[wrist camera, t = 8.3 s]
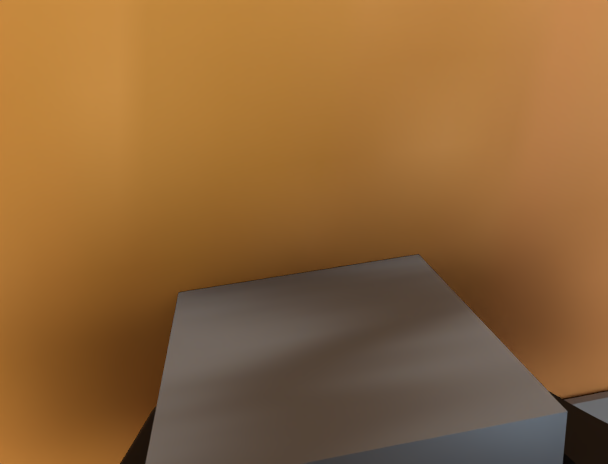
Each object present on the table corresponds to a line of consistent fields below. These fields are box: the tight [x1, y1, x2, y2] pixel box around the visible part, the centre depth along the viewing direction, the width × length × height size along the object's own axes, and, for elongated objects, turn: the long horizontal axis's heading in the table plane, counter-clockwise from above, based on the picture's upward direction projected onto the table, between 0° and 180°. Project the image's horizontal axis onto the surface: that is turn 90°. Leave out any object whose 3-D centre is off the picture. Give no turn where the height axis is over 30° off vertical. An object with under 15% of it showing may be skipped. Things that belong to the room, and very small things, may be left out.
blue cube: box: [145, 254, 567, 464], centre depth 9 cm, size 5×5×5 cm
